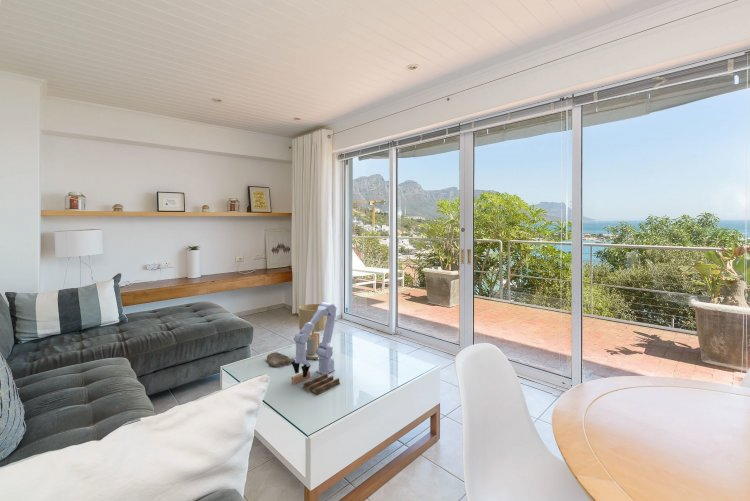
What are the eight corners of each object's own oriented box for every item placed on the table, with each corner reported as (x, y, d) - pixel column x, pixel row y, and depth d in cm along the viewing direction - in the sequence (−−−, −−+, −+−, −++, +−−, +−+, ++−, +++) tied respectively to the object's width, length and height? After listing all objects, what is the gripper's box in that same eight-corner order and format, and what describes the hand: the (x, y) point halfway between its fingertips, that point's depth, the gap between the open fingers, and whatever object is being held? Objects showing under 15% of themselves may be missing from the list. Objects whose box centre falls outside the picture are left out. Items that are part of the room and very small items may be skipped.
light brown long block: (307, 376, 216) (307, 370, 216) (310, 378, 215) (310, 371, 214) (291, 383, 207) (291, 377, 207) (294, 384, 205) (294, 378, 205)
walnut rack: (326, 378, 214) (326, 373, 214) (339, 383, 207) (340, 378, 206) (302, 388, 200) (302, 383, 200) (316, 395, 193) (316, 389, 193)
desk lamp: (305, 349, 262) (305, 303, 259) (330, 351, 258) (330, 304, 255) (294, 359, 243) (294, 309, 240) (321, 362, 239) (321, 311, 236)
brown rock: (262, 359, 243) (273, 368, 227) (262, 352, 243) (273, 361, 227) (281, 355, 251) (293, 364, 235) (282, 349, 251) (293, 357, 235)
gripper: (287, 351, 211) (287, 373, 212) (303, 357, 202) (303, 380, 203) (297, 348, 216) (297, 370, 217) (312, 354, 207) (312, 376, 208)
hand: (300, 374), depth 210 cm, fingers open, 7 cm apart
